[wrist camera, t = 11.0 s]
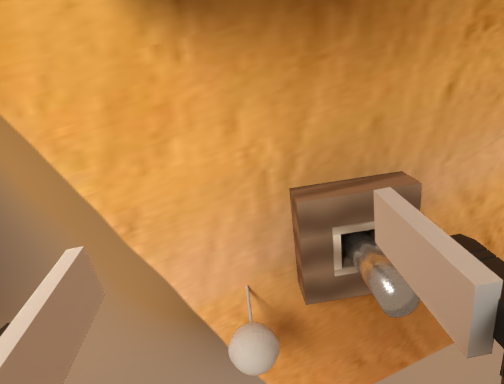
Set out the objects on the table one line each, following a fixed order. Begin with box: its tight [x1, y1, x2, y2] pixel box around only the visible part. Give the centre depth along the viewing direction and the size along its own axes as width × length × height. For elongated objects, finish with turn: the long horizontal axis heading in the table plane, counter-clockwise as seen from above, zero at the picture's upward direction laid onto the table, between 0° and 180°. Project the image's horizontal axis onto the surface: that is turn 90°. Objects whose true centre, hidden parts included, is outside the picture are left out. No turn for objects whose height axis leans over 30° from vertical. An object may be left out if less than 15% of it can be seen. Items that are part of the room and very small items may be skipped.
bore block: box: [290, 171, 422, 305], centre depth 48 cm, size 16×16×5 cm
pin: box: [341, 230, 419, 317], centre depth 42 cm, size 4×4×15 cm
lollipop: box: [228, 285, 279, 375], centre depth 45 cm, size 6×6×15 cm
